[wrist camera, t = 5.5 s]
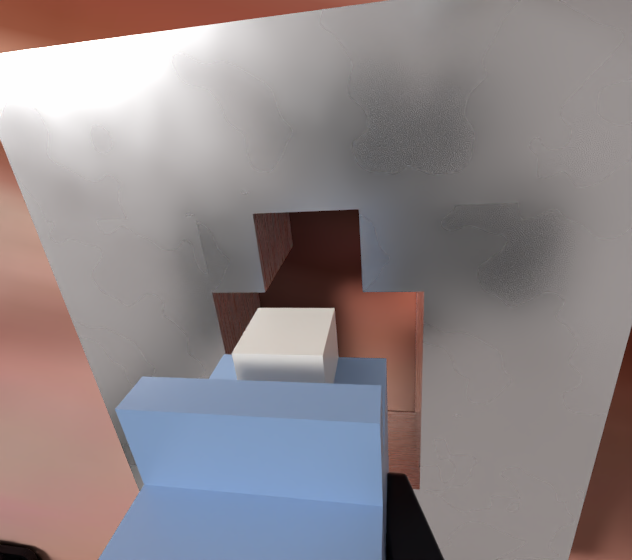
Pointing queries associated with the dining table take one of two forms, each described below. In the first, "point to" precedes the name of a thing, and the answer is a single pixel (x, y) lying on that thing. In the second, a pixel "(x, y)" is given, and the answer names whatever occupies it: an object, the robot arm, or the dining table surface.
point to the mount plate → (362, 220)
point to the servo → (261, 452)
